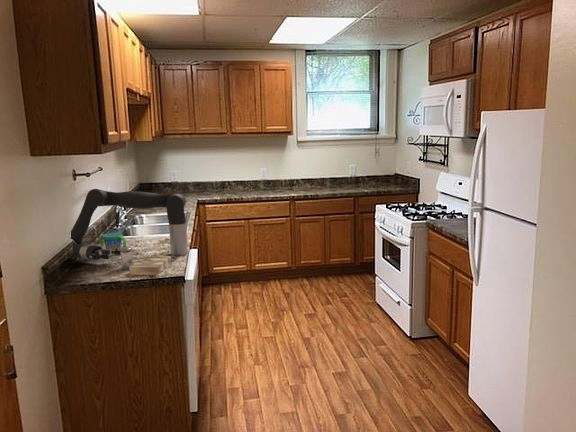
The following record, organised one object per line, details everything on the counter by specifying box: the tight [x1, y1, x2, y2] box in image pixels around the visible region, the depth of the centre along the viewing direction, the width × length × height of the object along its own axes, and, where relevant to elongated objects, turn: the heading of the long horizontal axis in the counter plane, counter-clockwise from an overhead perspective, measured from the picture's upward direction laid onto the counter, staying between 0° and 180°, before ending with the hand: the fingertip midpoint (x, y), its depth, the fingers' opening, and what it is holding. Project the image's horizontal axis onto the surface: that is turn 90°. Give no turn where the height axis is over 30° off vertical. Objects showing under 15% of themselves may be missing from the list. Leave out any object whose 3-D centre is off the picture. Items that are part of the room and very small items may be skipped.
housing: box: [120, 246, 134, 270], centre depth 229 cm, size 6×6×10 cm
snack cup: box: [100, 232, 127, 254], centre depth 260 cm, size 16×10×10 cm
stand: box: [129, 255, 172, 276], centre depth 226 cm, size 18×14×4 cm
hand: (114, 254), depth 232 cm, fingers open, 8 cm apart
